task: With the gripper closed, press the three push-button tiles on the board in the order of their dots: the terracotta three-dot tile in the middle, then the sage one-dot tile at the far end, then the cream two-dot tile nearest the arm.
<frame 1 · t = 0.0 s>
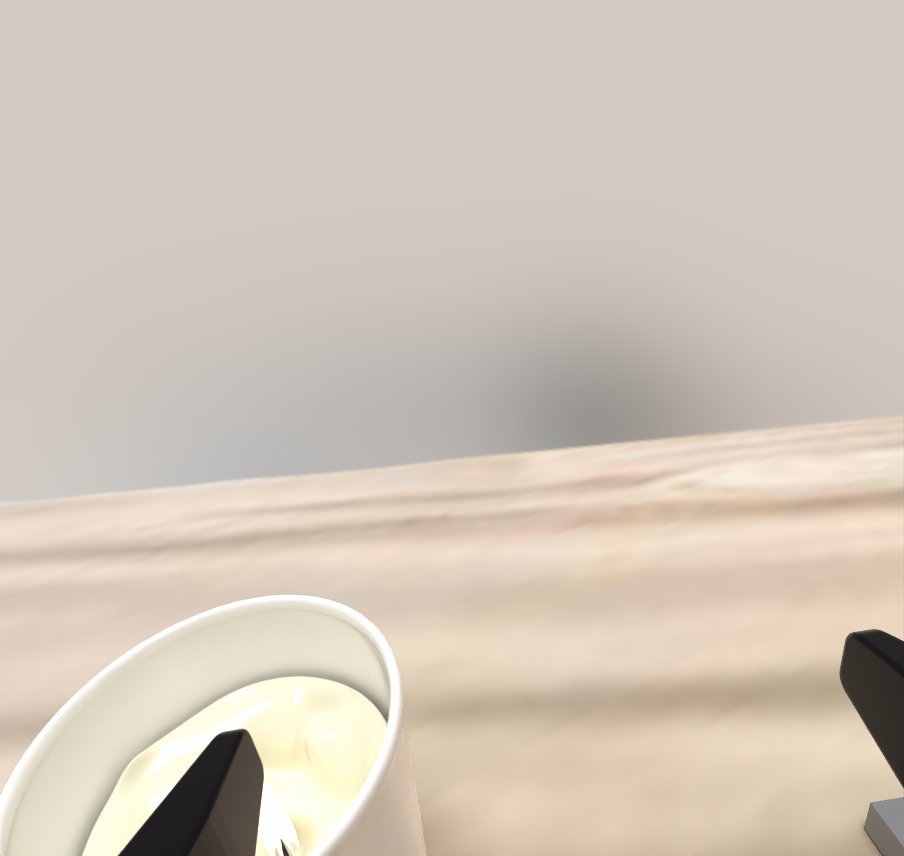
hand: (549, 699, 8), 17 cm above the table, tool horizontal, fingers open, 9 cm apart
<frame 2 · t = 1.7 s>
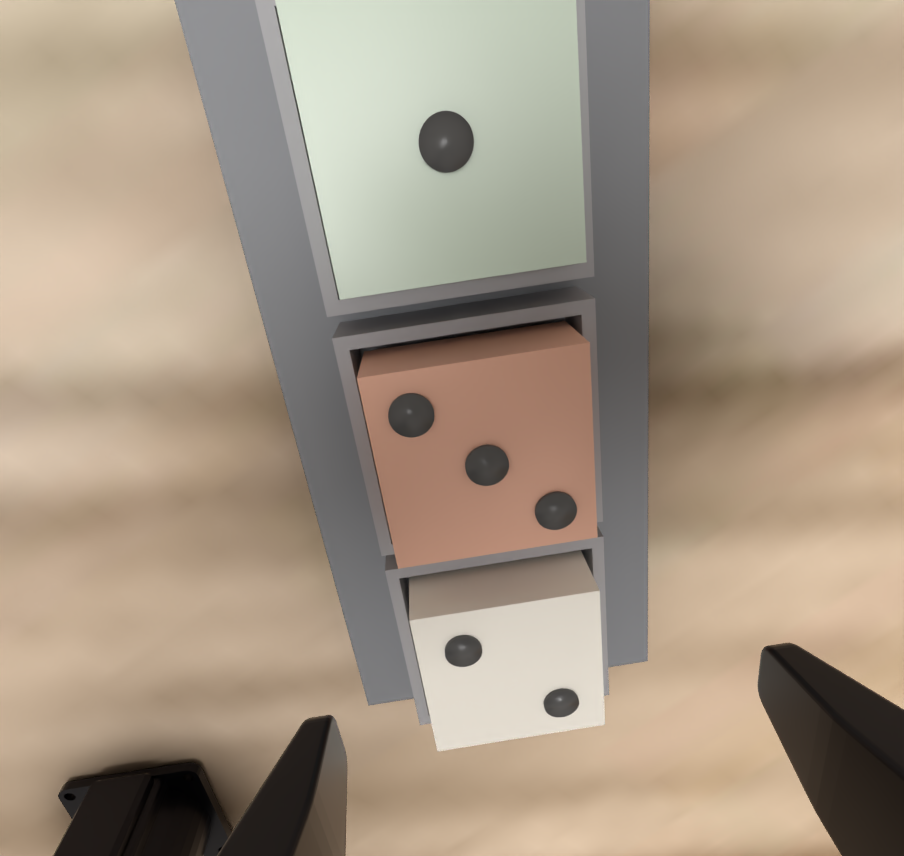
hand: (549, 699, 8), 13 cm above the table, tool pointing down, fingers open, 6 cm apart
tile two dots: (507, 649, 20), point 4 cm above the table, slide at 0.0 cm
tile one dot: (442, 145, 13), point 4 cm above the table, slide at 0.0 cm
button board: (468, 398, 20), on the table
tile three dots: (481, 446, 17), point 4 cm above the table, slide at 0.0 cm
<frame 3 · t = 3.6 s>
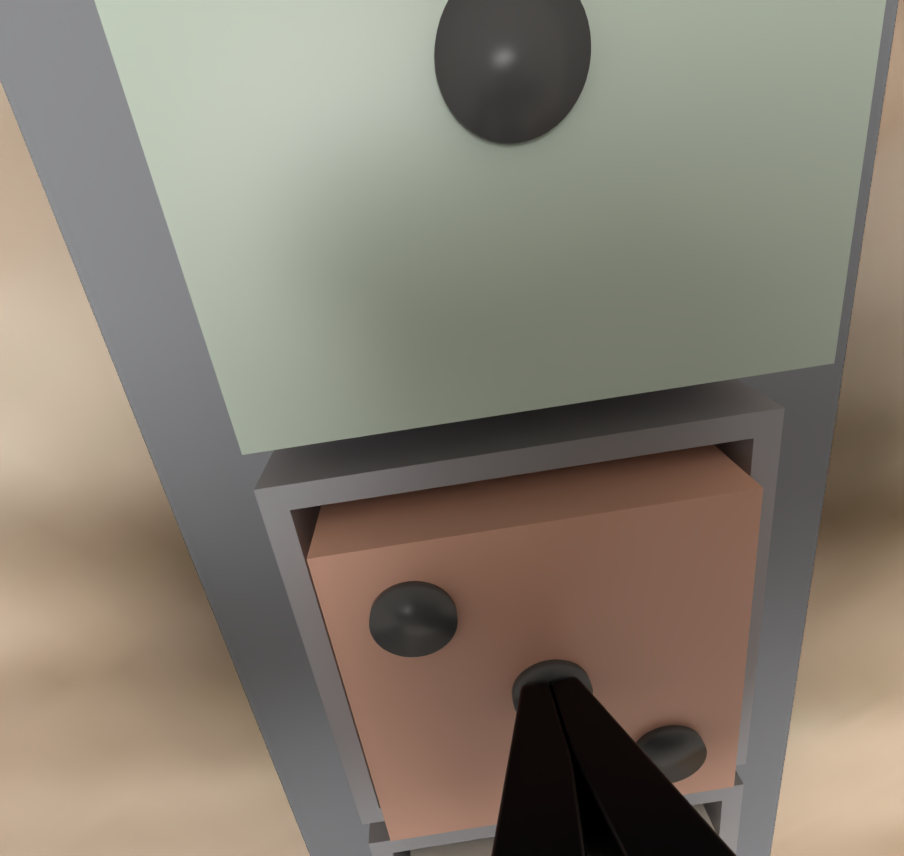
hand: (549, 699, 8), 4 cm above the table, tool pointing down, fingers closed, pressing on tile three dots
tile one dot: (490, 82, 6), point 4 cm above the table, slide at 0.0 cm
button board: (506, 529, 12), on the table
tile three dots: (535, 632, 10), point 3 cm above the table, slide at 1.0 cm, touching gripper
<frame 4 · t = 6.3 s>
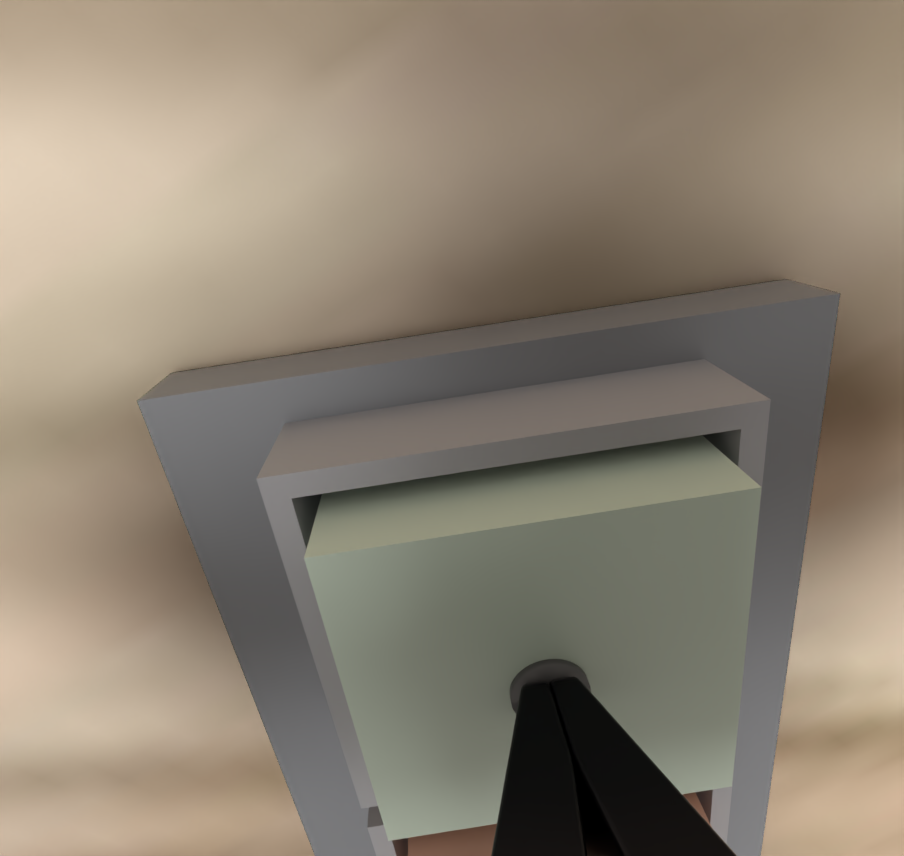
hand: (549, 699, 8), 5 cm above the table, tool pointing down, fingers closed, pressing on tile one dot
tile one dot: (533, 632, 10), point 3 cm above the table, slide at 0.7 cm, touching gripper
button board: (531, 758, 16), on the table
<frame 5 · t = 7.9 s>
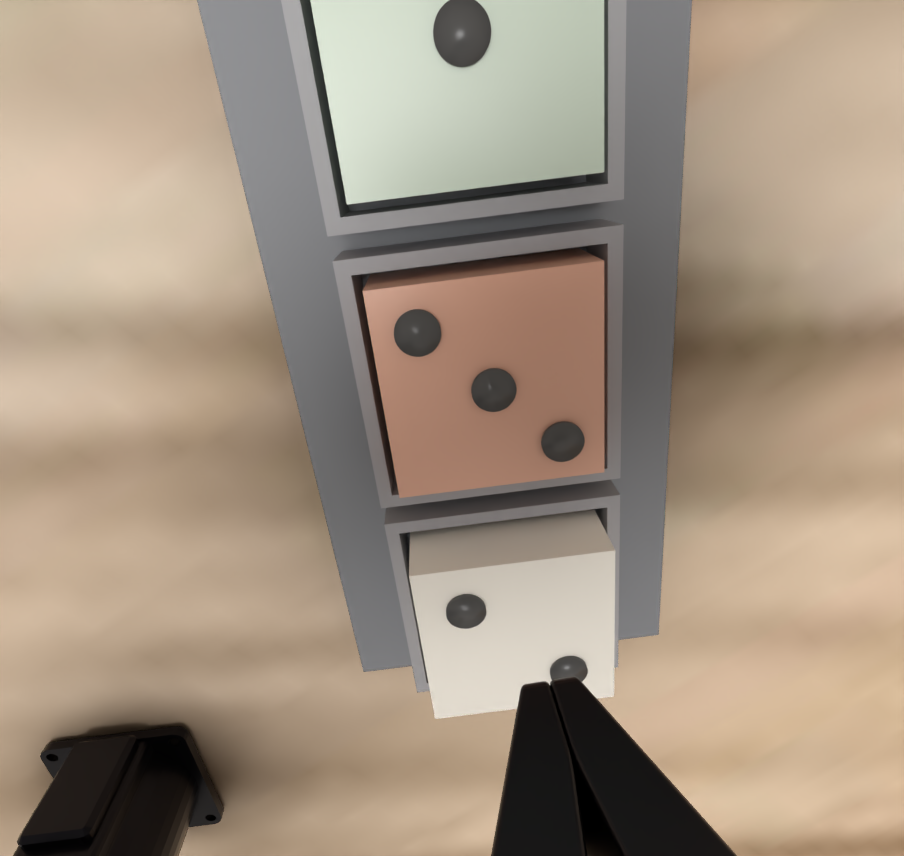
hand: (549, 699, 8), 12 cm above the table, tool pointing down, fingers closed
tile two dots: (513, 613, 19), point 4 cm above the table, slide at 0.0 cm
tile one dot: (458, 44, 13), point 3 cm above the table, slide at 1.1 cm
button board: (478, 345, 19), on the table
tile three dots: (488, 374, 16), point 3 cm above the table, slide at 1.1 cm
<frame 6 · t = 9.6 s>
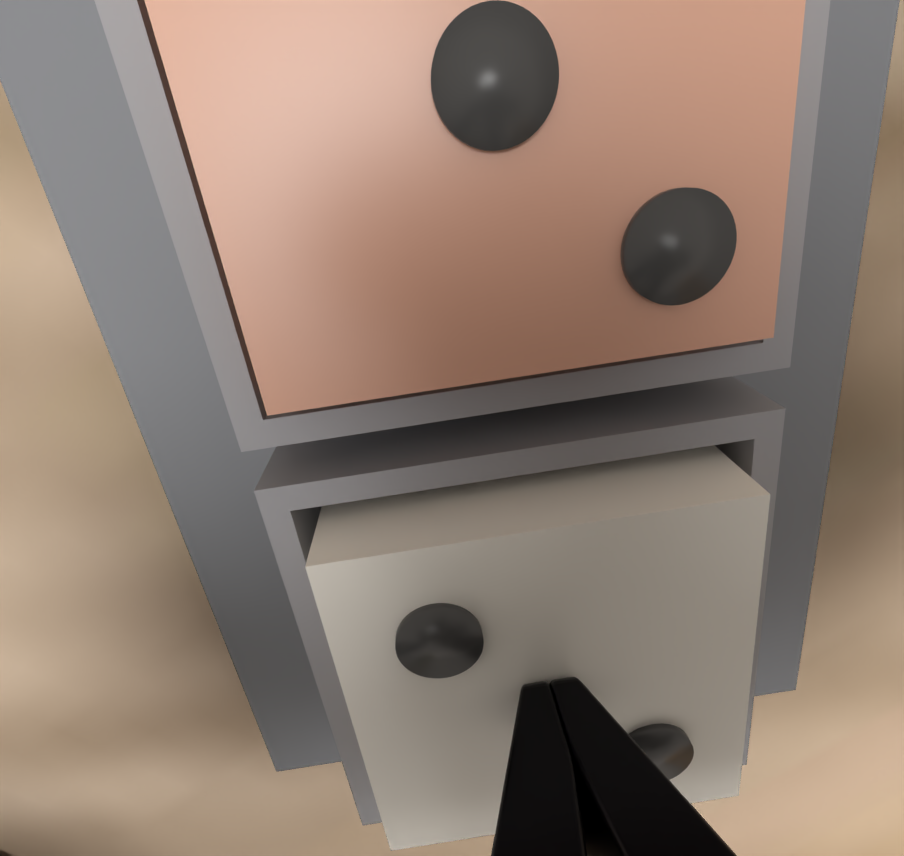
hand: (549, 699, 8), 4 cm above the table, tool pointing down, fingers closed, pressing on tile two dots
tile two dots: (537, 639, 10), point 3 cm above the table, slide at 0.8 cm, touching gripper
button board: (459, 122, 9), on the table
tile three dots: (479, 97, 6), point 3 cm above the table, slide at 1.1 cm
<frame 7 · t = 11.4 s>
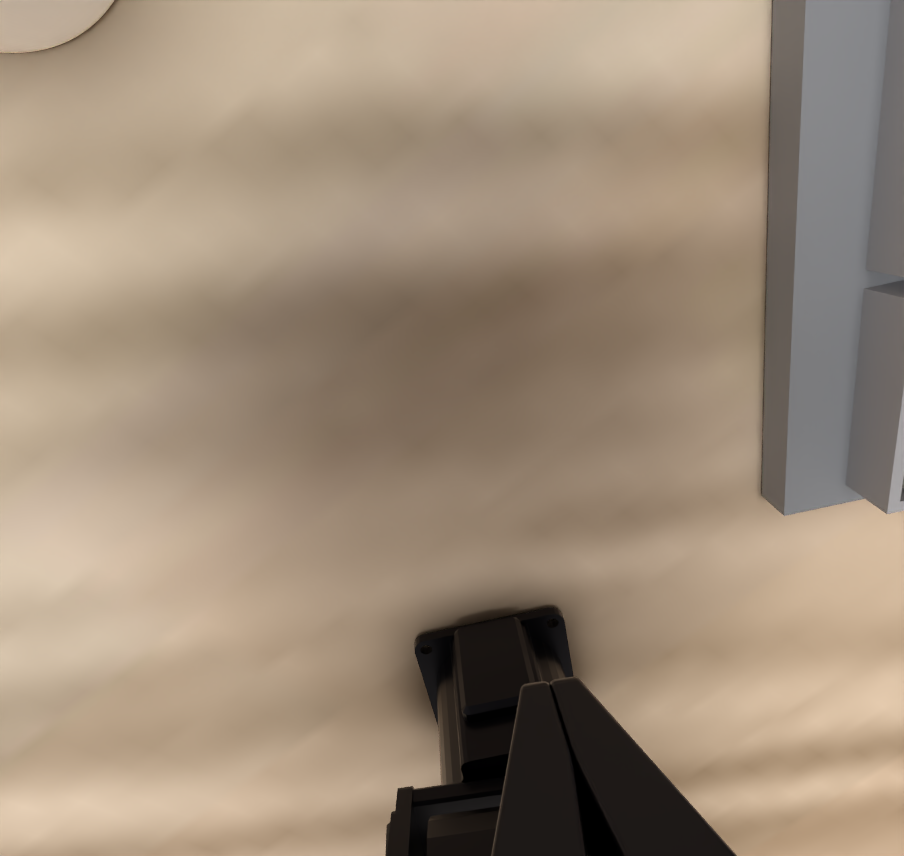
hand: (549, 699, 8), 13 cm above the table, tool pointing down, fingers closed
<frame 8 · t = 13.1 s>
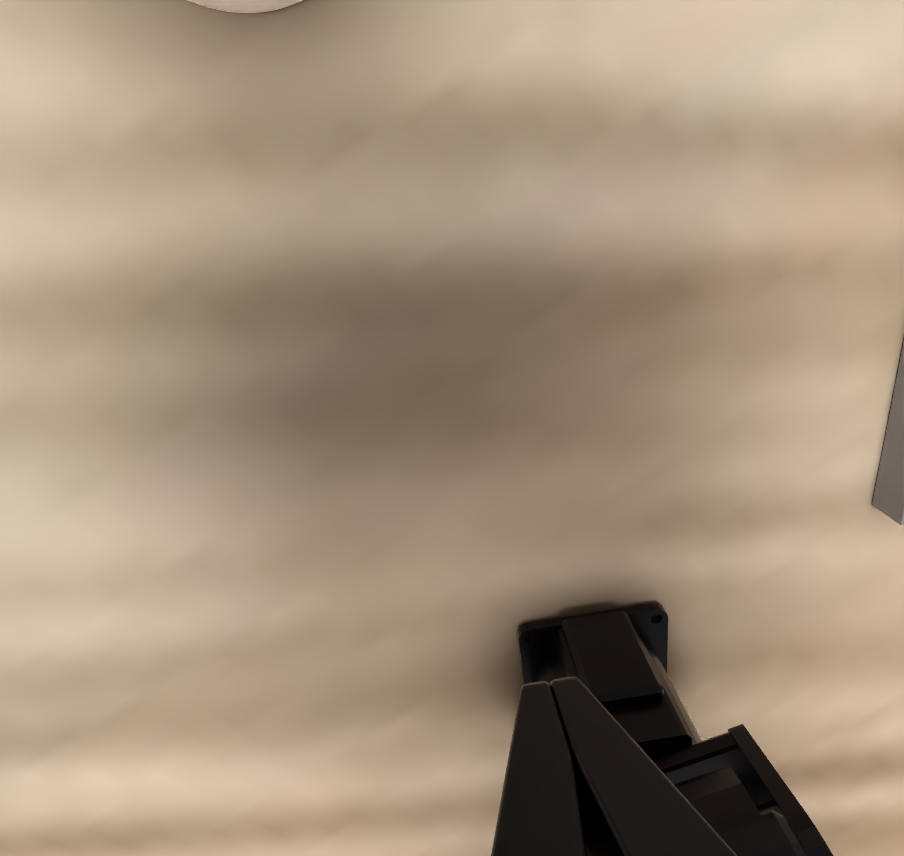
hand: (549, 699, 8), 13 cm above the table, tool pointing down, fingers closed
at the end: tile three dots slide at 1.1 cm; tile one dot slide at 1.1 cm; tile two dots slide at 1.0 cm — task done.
